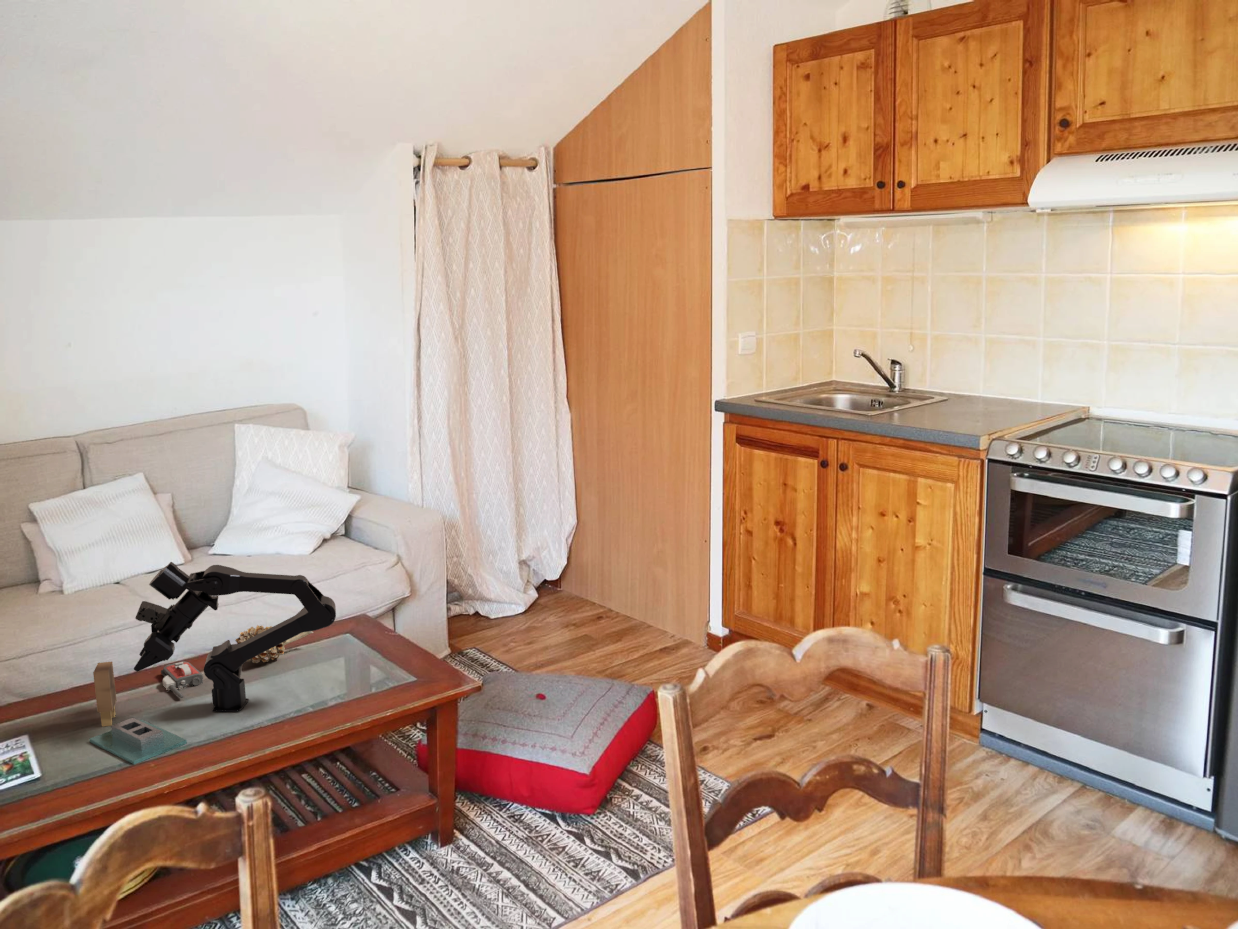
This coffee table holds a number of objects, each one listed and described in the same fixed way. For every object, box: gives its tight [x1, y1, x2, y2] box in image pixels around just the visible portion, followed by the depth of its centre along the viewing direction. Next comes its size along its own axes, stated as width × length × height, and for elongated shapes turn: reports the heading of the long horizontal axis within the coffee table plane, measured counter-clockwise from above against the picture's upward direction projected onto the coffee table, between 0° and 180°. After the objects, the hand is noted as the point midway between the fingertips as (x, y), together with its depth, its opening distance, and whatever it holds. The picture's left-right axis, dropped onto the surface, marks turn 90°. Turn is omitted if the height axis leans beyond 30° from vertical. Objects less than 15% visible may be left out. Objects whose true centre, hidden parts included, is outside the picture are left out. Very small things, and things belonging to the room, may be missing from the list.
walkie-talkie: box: [160, 661, 204, 699], centre depth 264 cm, size 9×4×20 cm
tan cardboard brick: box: [92, 661, 117, 727], centre depth 243 cm, size 6×3×13 cm, turn 16°
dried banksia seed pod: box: [235, 624, 314, 664], centre depth 281 cm, size 22×10×10 cm, turn 140°
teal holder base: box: [89, 717, 188, 765], centre depth 233 cm, size 18×12×3 cm, turn 53°
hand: (138, 663), depth 244 cm, fingers open, 9 cm apart
